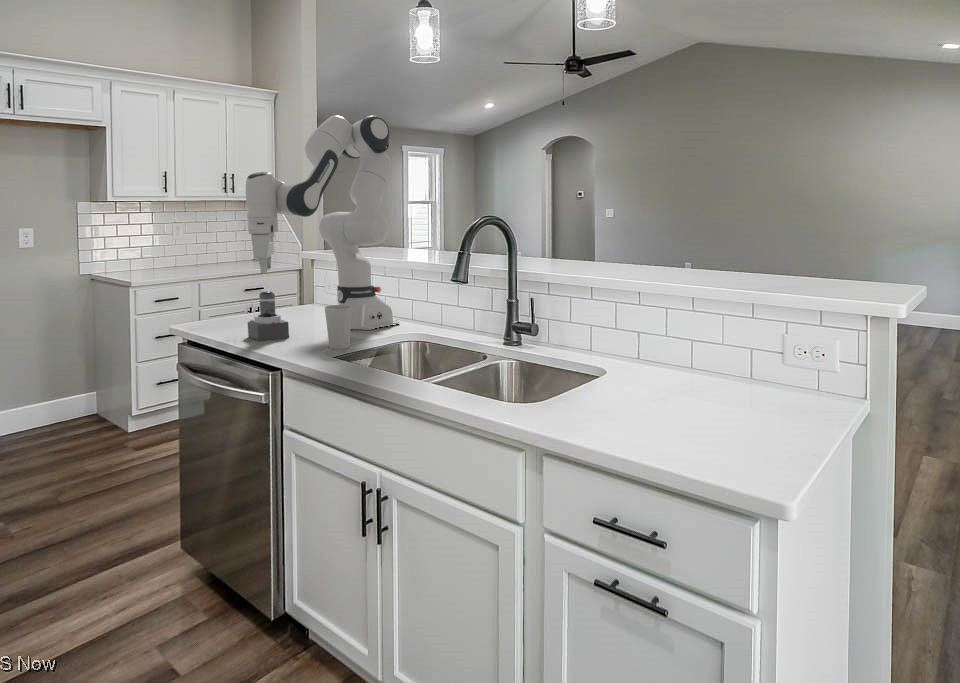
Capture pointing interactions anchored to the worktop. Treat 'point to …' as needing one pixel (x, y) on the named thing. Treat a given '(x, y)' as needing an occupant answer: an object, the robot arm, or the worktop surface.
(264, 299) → the lens
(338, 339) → the cup
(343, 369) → the worktop surface
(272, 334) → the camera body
